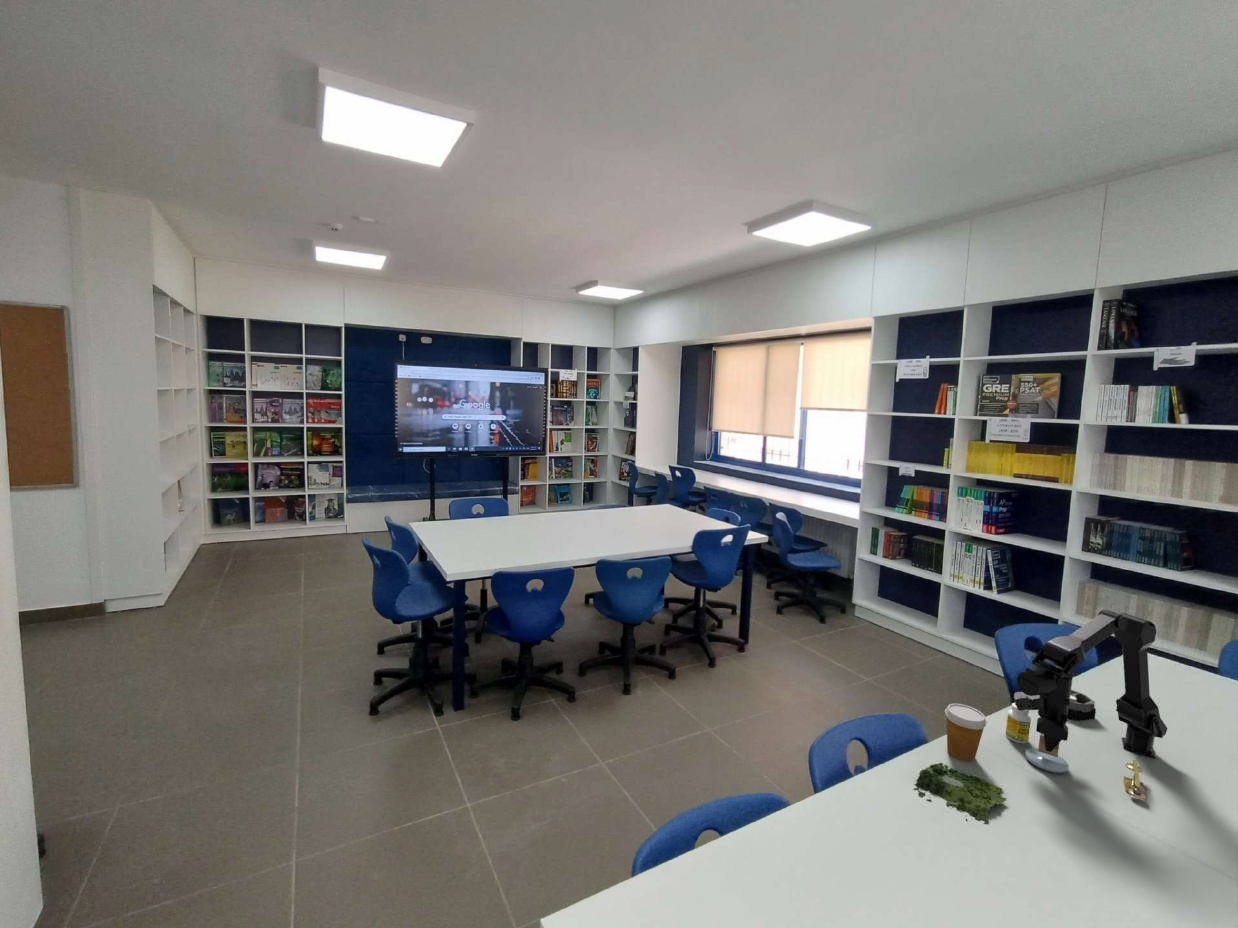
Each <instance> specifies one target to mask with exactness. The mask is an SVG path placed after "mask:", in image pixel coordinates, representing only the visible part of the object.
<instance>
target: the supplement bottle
mask: <svg viewBox="0 0 1238 928" xmlns="http://www.w3.org/2000/svg"><path fill="white" fill-rule="evenodd" d="M1029 713H1030V710H1023V711H1020V710H1018V709H1017V706H1016V705H1015V702H1013V703H1011V709H1010V710H1008V711H1007V717H1006V718H1007V719H1006V727H1005V736H1006V737H1007V739H1008V740H1010V741H1013V742H1014V743H1018V744H1027V743H1028V742H1029V736H1030V730H1031V723H1032V718H1031V715H1029Z"/></svg>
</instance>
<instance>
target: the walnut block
mask: <svg viewBox="0 0 1238 928" xmlns="http://www.w3.org/2000/svg"><path fill="white" fill-rule="evenodd" d="M1060 742H1061V741H1060ZM1060 742H1059V744H1058V745H1057V746H1056V747H1055V748H1054V749H1053V750H1052V751H1051V752H1049V751H1046V748H1045V741H1044V734H1042V733H1039V739H1038V751H1039V752H1042V753H1045V754H1048V755H1051V756H1054V757H1058V756H1059V749H1060Z"/></svg>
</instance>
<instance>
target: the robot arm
mask: <svg viewBox="0 0 1238 928" xmlns="http://www.w3.org/2000/svg"><path fill="white" fill-rule="evenodd" d="M1112 635H1113V636H1114V637H1115V638H1116V640H1117V641H1118V643H1119V644H1120V645H1121V646H1122V659H1123V661H1122V662H1123V675H1124V677H1123V678H1124V694H1123V695H1121V696H1120V697H1119V698H1117V699H1116V700H1115V704H1116V709H1115V712H1117V716H1118V721H1120V722H1122V723H1124V724H1127V725H1126V726H1127V727H1126V730H1125V731H1126V733H1125V737H1124V736H1123V737H1121V742H1122V748H1123V749H1125V750H1127V751H1130V752H1133V753H1137V754H1140V755H1143V756H1146V757H1149V758H1153V759H1156V753H1155V750H1154V743H1155V738H1159V739H1163V738H1164V736H1166V734H1167V732H1168V727H1167V725H1166V724H1165V723H1164V721H1163V720H1162V718H1161V715H1160V709H1159V706H1158V705H1157V703H1156V702H1155V701H1154V699H1153V697H1151V695H1150V680H1149V679H1150V678H1149V674H1150V673H1149V659H1148V657H1149V656H1148V648H1149V647H1150V646H1151V645H1152V644H1153V643H1155V641H1156V635H1157V628H1156V625H1155V623H1154V622H1152V621H1150V620H1148V619H1144V618H1141V617H1139V616H1135V615H1133V614H1129V613H1127V612H1120V613H1117V611H1116V612H1115V611H1112V610H1110V609H1102V610H1100V611H1099V612H1098V615H1097V616H1095V617H1094V618H1092V619H1091V620H1089V621H1088V622H1086V623H1085V624H1084V625H1082V626H1081V627H1080V628H1077V630H1075V631H1073V632H1072V633H1071V634H1069V635H1065V636H1064V635H1063V636H1055V637H1054V638H1052V639H1049V640H1048V641H1046V642H1045V643H1044V644H1042V647H1041V648H1040V649H1039V651H1038V652H1037V653H1036V655H1035V656H1034V658H1033V659H1032V661H1031V665H1034V667H1032V666H1030V667H1029V666H1028V667H1026V670H1025V671H1022V672H1020V673H1019V674H1018V675H1017V677H1016V683H1017V686H1018V688H1019V690H1020V691H1017V692H1016V691H1015V692H1014V695H1013V699H1014V703H1015V705H1016V706H1017V709H1018V710H1020V711H1023V710H1029V711H1037V713H1038V714H1037V715H1038V716H1039V717H1037V721H1036V729H1035V731H1036V732H1037V733H1039V734H1040V733H1042V734H1044V741H1045V748H1046V751H1049V752H1051V751H1052V750H1053V749H1054V748H1055V747H1056V746H1057V745H1058V744H1059V745H1060V743H1059V742H1062V741H1064V742H1065V741H1066V742H1067V741H1068V738H1069V737H1068V736H1069V727H1068V726H1067V723H1068V722H1067V721H1068V720H1069V719H1068V708H1069V704H1070V693H1071V690H1072V686H1073V680H1074V679H1073V678H1074V677H1075V676H1076V677H1077V676H1079V675H1080V673H1079V672H1078V671H1077V669H1078V668H1079V667H1080V666H1081V665H1082V664H1084V662H1085V661H1086V654H1087V653H1088V652H1089V651H1091V650H1092V649H1093V648H1095V647H1096V646H1097V645H1099V644H1100V643H1102V642H1104V641H1105V640H1107V638H1109V637H1111V636H1112Z"/></svg>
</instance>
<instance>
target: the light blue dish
mask: <svg viewBox="0 0 1238 928" xmlns="http://www.w3.org/2000/svg"><path fill="white" fill-rule="evenodd" d="M1038 748H1039V747H1038ZM1038 748H1037V747H1031V748H1030V747H1029V748H1027V749H1025V754H1024V755H1025V756H1024V757H1025V758H1026V759H1027V761H1029V762H1030V763H1031V764H1032V765H1034V766H1035V767H1037V768H1040V769H1042V770H1045V771H1048V772H1051V773H1055V774H1063V773H1067V772H1068V770H1069V764H1068V762H1067V761H1066V759H1064V758H1063V757H1061V756H1060V755H1058V757H1054V756H1051V755H1048V754H1045V753H1042V752H1039V751H1038Z"/></svg>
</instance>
